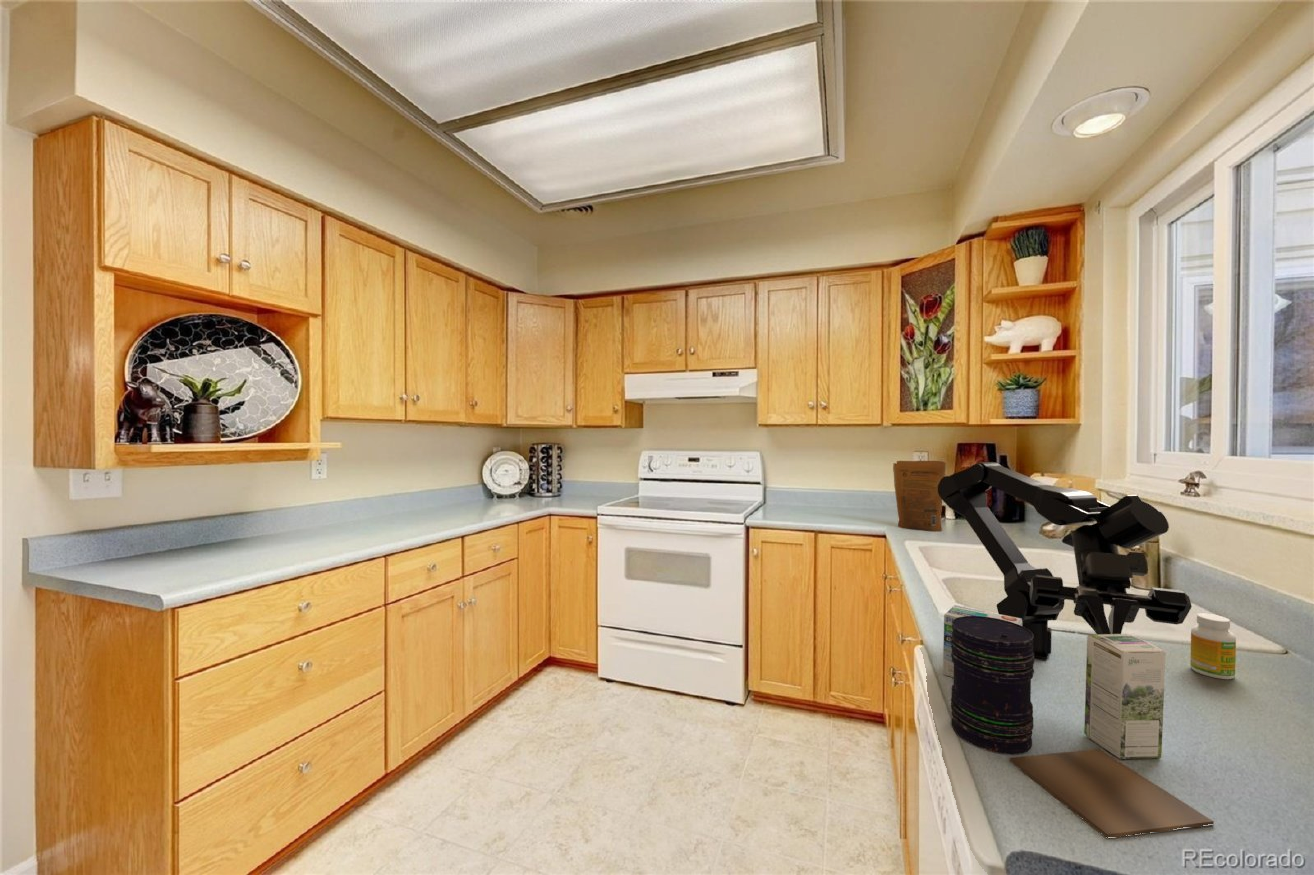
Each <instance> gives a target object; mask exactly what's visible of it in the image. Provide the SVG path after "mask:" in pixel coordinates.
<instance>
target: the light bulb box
mask: <svg viewBox="0 0 1314 875" xmlns="http://www.w3.org/2000/svg"><path fill="white" fill-rule="evenodd" d="M963 616H983V617H991V618H997V619H1001V620H1005V621H1009V622H1012V623H1015V624H1018V625H1020V626H1022V619H1021V618H1016V617H1011V616H1006V615H1001V614H999V613H995V612H990V611H986V610H980V609H976V608H971V607H967V606H961V605H956V604H953V606H952V607H951V608H949V610H948V611H947V612H946V613H944V615H943V652H942V654H943V655H942V656H943V657H942V662H943V663H942V675H943V676H946V677H947V676H948V677H951V678H954V663H953V662H952V657H951V653H952V648H951V639H952V631H953V629H952V621H953V620H954V619H956V618H958V617H963Z"/></svg>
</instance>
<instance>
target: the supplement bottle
mask: <svg viewBox="0 0 1314 875" xmlns="http://www.w3.org/2000/svg"><path fill="white" fill-rule="evenodd" d="M1196 623H1197V624H1196V625H1194V626H1192V627H1191V630H1190V657H1189V658H1190V659H1189V661H1190V662H1189V663H1190V666H1189V667H1190V668H1191V670H1193V672H1196V673H1198V674H1200V675H1203V676H1206V677H1210V678H1214V679H1220V680H1232V679H1234V678H1235V677H1236V657H1237V654H1236V653H1237V651H1236V649H1237V638H1236V635H1235V634H1234V633H1233V632H1231V631H1230V629H1231V620H1230V619H1229V618H1227V617H1225V616H1221V615H1218V614H1214V613H1213V614H1211V613H1205V612H1204V613H1203V612H1202V613H1200V612H1199V613H1197V614H1196Z"/></svg>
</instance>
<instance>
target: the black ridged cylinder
mask: <svg viewBox="0 0 1314 875" xmlns="http://www.w3.org/2000/svg"><path fill="white" fill-rule="evenodd" d="M952 629H953V631H952V639H951V648H952V653H951V657H952V662H953V663H954V677H953V684H952V686H951V692H950V693H951V696H950V710H951V717H952V718H951V723H950V725H951V729H952V731H953V732H954V733H955V734H956V735H957V736H958V737H959V738H960V739H961V740H963V741H965V742H966V743H968V744H970V745H971V746H974V747H976V748H978V749H981V750H984V751H987V752H991V753H994V754H998V755H1005V756H1006V755H1007V756H1017V755H1018V756H1019V755H1024V754H1026V753H1028V752H1029V751H1031V750H1032V748H1033V739H1032V735H1033V730H1034V721H1035V720H1034V706H1033V703H1032V701H1031V699H1032V696H1031V695H1032V693H1031V692H1032V689H1031V688H1032V682H1031V681H1032V679H1033V678H1034V673H1035V670H1034V665H1035V657H1034V653H1033V633H1032V632H1031V631H1030V630H1028V629H1027V628H1025V627H1023V626H1020V625H1018V624H1015V623H1012V622H1009V621H1005V620H1001V619H997V618H991V617H983V616H963V617H958V618H956V619H954V620H953V621H952Z"/></svg>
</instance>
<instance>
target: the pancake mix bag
mask: <svg viewBox="0 0 1314 875" xmlns="http://www.w3.org/2000/svg"><path fill="white" fill-rule="evenodd" d="M946 469H947V462H945V461H943V460H942V461H941V460H897V461H896V463H895V462H894V463H893V466H892V471H893V484H894V485H893V487H894V494H895V500H896V510H897V516H898V524H897V527H899V528H901V529H906V530H919V531H927V532H942V531H943V526H942V519H941V518H942V511H943V500H942V499H941V498H940V496H939V494H938V484H939V482H940V480H941V479H942V478H943V477H945V476H947V475H946V474H947V470H946Z"/></svg>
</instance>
